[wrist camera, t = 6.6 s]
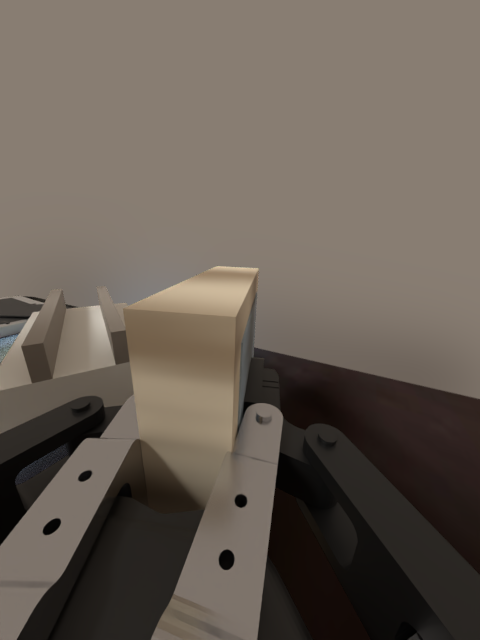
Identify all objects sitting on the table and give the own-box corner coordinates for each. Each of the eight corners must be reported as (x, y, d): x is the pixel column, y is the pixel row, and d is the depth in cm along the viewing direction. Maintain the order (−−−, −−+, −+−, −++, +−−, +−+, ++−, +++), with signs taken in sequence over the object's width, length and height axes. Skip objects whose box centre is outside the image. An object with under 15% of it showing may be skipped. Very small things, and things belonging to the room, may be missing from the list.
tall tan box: (227, 629, 9) (238, 317, 5) (161, 614, 9) (120, 308, 5) (249, 436, 17) (259, 268, 13) (215, 431, 17) (215, 266, 13)
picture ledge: (165, 407, 20) (158, 325, 18) (6, 461, 15) (-35, 354, 12) (130, 335, 34) (123, 285, 32) (42, 350, 29) (27, 291, 27)
